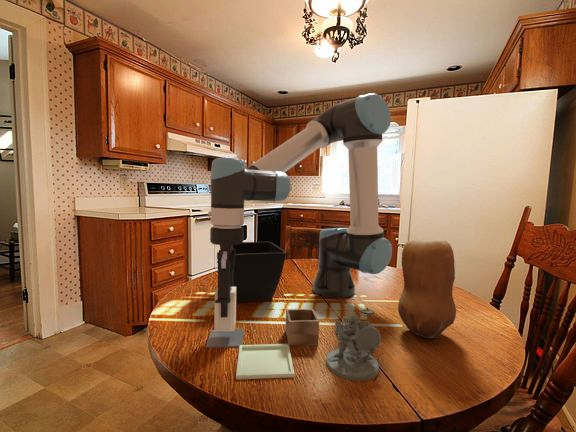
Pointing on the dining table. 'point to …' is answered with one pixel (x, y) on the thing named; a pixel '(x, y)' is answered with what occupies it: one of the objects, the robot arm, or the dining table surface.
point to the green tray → (264, 361)
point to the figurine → (355, 349)
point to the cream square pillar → (233, 310)
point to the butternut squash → (427, 287)
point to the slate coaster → (225, 338)
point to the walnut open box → (302, 327)
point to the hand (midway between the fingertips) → (225, 324)
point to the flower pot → (257, 270)
